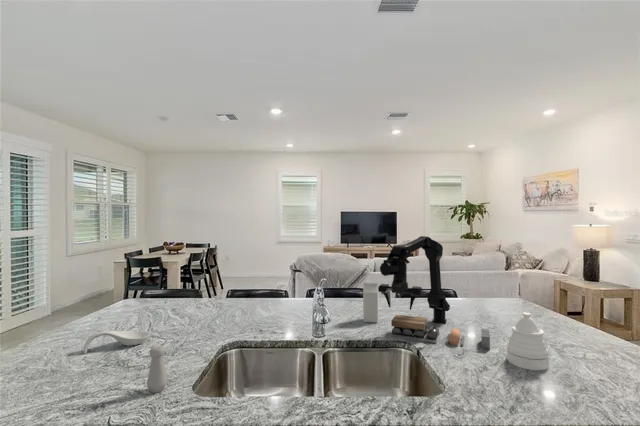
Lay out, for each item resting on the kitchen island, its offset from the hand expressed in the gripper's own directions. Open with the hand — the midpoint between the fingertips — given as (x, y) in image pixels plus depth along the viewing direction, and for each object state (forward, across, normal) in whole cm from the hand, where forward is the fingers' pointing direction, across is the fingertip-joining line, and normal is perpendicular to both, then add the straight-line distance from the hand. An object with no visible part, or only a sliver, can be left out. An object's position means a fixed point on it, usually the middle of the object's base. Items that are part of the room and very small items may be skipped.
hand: (400, 308), depth 155 cm
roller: (+11, +23, 0) cm, 26 cm away
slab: (+7, +4, +1) cm, 8 cm away
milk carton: (+12, -17, +15) cm, 26 cm away
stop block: (+11, +35, 0) cm, 36 cm away
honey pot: (+12, +48, -13) cm, 51 cm away
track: (+11, +12, 0) cm, 16 cm away
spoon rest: (+14, -105, -58) cm, 121 cm away
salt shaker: (+13, -60, -78) cm, 100 cm away
